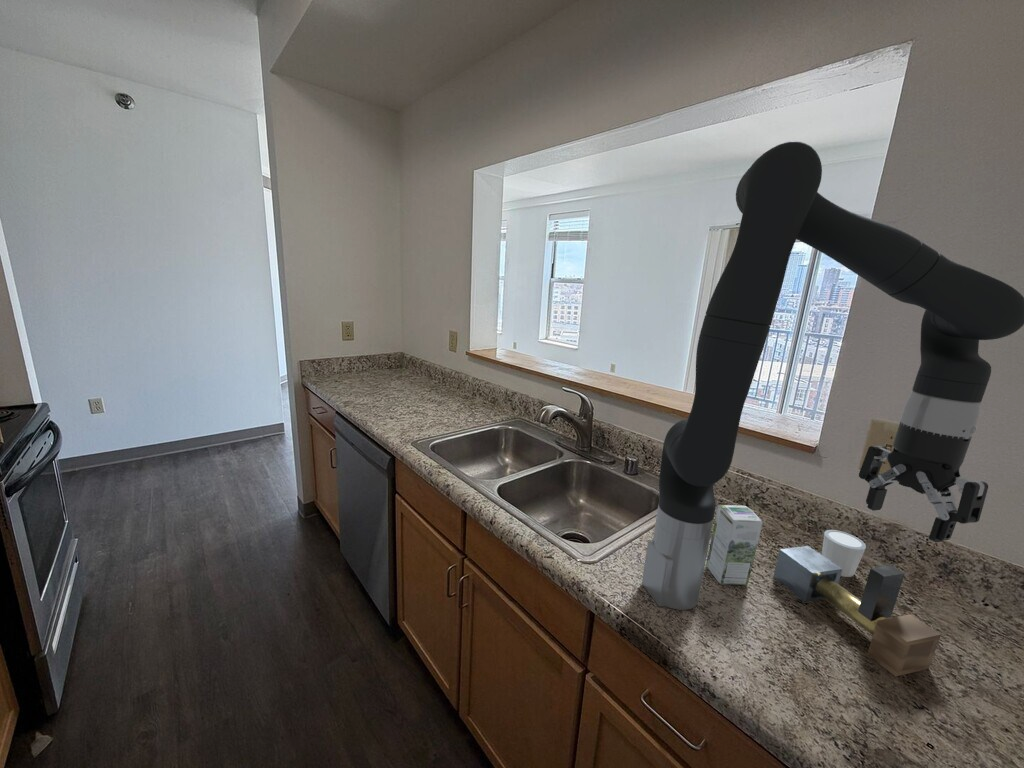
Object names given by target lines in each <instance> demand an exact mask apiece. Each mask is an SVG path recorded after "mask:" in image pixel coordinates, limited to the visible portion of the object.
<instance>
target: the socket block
mask: <svg viewBox="0 0 1024 768" xmlns="http://www.w3.org/2000/svg"><path fill="white" fill-rule="evenodd" d="M941 635H942V634H941V633H940V632H938V631H936V630H935V629H934V628H932V627H930V626H929V625H927V624H926V623H924V622H923V621H922V620H921V619H919V618H917V617H916V616H914V615H912V614H905V615H904V614H903V615H900V616H893V617H889V618H887V619H883V620H878V621H877V625H876V628H875V631H874V634H873V635H872V638H871V640H870V645H869V647H868V651H867V653H866V654H867V655H868V656H869V657H871V658H872V659H873V660H874V661H876V662H877V663H878V664H879V665H880V666H882V668H884V669H885V670H887V671H888V672H889V673H890V674H891V675H892V676H894V677H899V676H903V675H907V674H912V673H916V672H920V671H924V670H927V669H929V668H930V666H931V664H932V660H933V658H934V656H935V652H936V649H937V647H938V644H939V641H940V638H941Z"/></svg>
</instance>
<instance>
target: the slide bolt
mask: <svg viewBox="0 0 1024 768" xmlns="http://www.w3.org/2000/svg"><path fill="white" fill-rule="evenodd" d="M905 575H906V573H905V572H903V571H902V570H900V569H899V568H897V567H895V566H894V565H892V564H891V565H884V566H877V567H871V568H870V570H869V574H868V577H867V580H866V583H865V586H864V589H863V593H862V597H861V599H860V598H858V597H857V596H855V595H854V594H852V593H851V592H850V591H849V590H847V589H846V588H844V587H843V586H841V585H840V584H839V583H838V584H837V583H836V582H834V581H833V580H832V579H830V578H829V577H825V578H822V579H821V580H820V581H819V582H818V583H817V585H816V592H817V593H818V594H819V595H821V596H822V597H823V598H824V599H825V600H826V601H827V602H828V603H830V604H831V605H832V606H834V608H836V609H837V610H839V611H840V612H841V613H842V614H844V615H845V616H847V618H849V619H850V620H852V621H853V622H855V623H856V624H857V625H858V626H859V627H861V628H862V629H864V630H865V631H866V632H868V633H869V634H870V635H872V636H873V634H874V631H875V628H876V625H877V621H878V620H883V619H888V618H892V615H893V613H894V608H895V606H896V602H897V600H898V599H897V598H898V597H899V593H900V590H901V587H902V584H903V582H904V581H903V580H904V577H905Z"/></svg>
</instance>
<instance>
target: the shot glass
mask: <svg viewBox="0 0 1024 768" xmlns="http://www.w3.org/2000/svg"><path fill="white" fill-rule="evenodd" d="M866 548H867V545H866V543H865V542H864V541H863V540H862V539H860V538H858V537H856V536H855V535H852V534H851V533H848V532H845V531H842V530H835V529H827V530H825V531H824V534H823V542H822V549H821V555H823V556H824V557H826V558H827V559H829V560H830V561H832V562H833V563H835V564H836V565H838V566H839V567H841V568H842V572H841V576H840V577H845V578H850V577H851V578H852V577H853V576H855V573H856V571H857V568H858V566H859V564H860V562H861V559H862V557H863V555H864V553H865V551H866Z"/></svg>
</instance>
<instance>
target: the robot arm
mask: <svg viewBox="0 0 1024 768" xmlns="http://www.w3.org/2000/svg"><path fill="white" fill-rule="evenodd" d="M822 173H823V165H822V161H821V158H820V156H819V154H818V152H817V150H815V149H814V148H813V147H812V146H811V145H809V144H807V143H806V142H803V141H797V140H796V141H795V140H792V141H786V142H782V143H780V144H778V145H775V146H774V147H771V148H770V149H768V150H767V151H766V152H764V153H762V155H760V156H759V157H758V158H757V159H756V160H754V162H753V163H752V164H751V165H750V167H749V168H748V169H747V170H746V171H745V173H744V174H743V175H742V177H741V178H740V180H739V181H738V184H737V187H736V192H735V202H736V206H737V208H738V209H739V211H740V212H741V214H742V215H741V220H740V225H739V229H738V234H737V237H736V240H735V245H734V248H733V251H732V253H731V255H730V257H729V260H728V262H727V263H726V266H725V267H724V269H723V272H722V274H721V275H720V278H719V280H718V282H717V284H716V286H715V289H714V290H713V293H712V296H711V297H710V300H709V303H708V305H707V308H706V311H705V315H704V319H703V322H702V325H701V329H700V332H699V336H698V339H697V340H698V341H697V346H696V356H695V357H696V358H695V359H696V360H695V387H694V398H693V402H692V407H691V409H690V412H689V415H688V418H686V419H682V420H679V421H677V422H676V423H674V424H673V425H672V426H671V427H670V428H669V430H668V431H667V432H666V435H665V438H664V441H663V445H662V446H663V447H662V451H661V461H660V469H659V470H660V471H659V479H658V489H659V492H658V497H659V498H658V505H657V511H656V517H655V523H654V529H653V530H654V531H653V535H652V536H653V537H652V539H649V540H648V541H647V545H646V551H645V559H644V566H643V573H642V580H641V584H642V586H643V588H644V589H645V590H646V591H647V593H648V594H649V595H650V596H651V598H652V599H653V600H654V601H655V603H656V604H657V605H658V607H661V608H663V607H666V608H670V609H674V610H680V611H686V610H691V609H694V608H695V607H696V606H697V604H698V603H699V598H700V593H701V587H702V583H703V577H704V571H705V566H706V563H707V558H708V552H709V547H710V542H711V536H712V535H711V534H712V531H713V529H712V528H713V526H714V525H713V523H714V521H715V520H714V518H715V515H716V514H715V513H716V509H717V508H716V507H717V503H716V497H715V491H714V484H716V483H718V482H719V481H720V480H721V479H723V478H724V477H725V475H726V474H727V473H728V471H729V470H730V467H731V465H732V462H733V458H734V454H735V448H736V443H737V436H738V431H739V427H740V423H741V417H742V414H743V409H744V406H745V402H746V400H747V397H748V395H749V393H750V392H749V391H750V389H751V387H752V382H753V380H754V376H755V373H756V370H757V367H758V364H759V362H760V359H761V356H762V353H763V350H764V349H765V345H766V342H767V339H768V335H769V332H770V329H771V325H772V322H773V319H774V315H775V312H776V311H775V310H776V308H777V305H778V301H779V299H780V294H781V292H782V287H783V284H784V280H785V276H786V272H787V268H788V264H789V261H790V257H791V255H792V250H793V248H794V246H795V243H796V241H797V240H798V241H800V242H802V243H803V244H806V245H807V246H808V247H809V246H810V247H811V248H813V249H815V250H817V251H818V252H820V253H821V254H823V255H825V256H827V257H828V258H831V259H832V260H834V261H835V262H837V263H839V264H840V265H842V266H843V267H845V268H846V269H848V270H850V271H851V272H852V273H854V274H855V275H858V276H859V277H860V278H862V279H864V280H865V281H867V282H868V283H870V284H871V285H873V286H874V287H876V289H878V290H881V292H883V293H884V294H885V295H886V294H887V295H888V296H890V297H891V298H892V299H895V300H897V301H899V302H902V303H905V304H908V305H909V304H910V305H914V306H917V307H919V308H922V309H924V313H923V315H922V319H921V325H920V345H919V346H920V347H919V348H920V349H919V350H920V352H919V353H920V365H919V368H918V371H917V373H916V377H915V379H914V382H913V387H912V391H911V392H910V395H909V397H908V399H907V401H906V402H905V405H904V407H903V410H902V415H901V417H900V420H899V424H898V428H897V431H896V435H895V437H894V440H893V444H892V446H893V449H892V451H891V450H889V449H888V448H887V446H886V445H871V446H869V447H868V448H867V452H866V453H865V457H864V458H863V462H862V464H861V467H860V470H859V473H858V477H859V478H860V479H861V480H865V481H866V482H867V484H868V485H869V489H868V492H867V496H866V498H865V501H866V502H865V503H866V505H867V508H868V509H869V510H871V511H880V510H881V509H882V508H883V505H884V502H885V499H886V496H887V493H888V489H886V488H887V487H889V486H891V485H894V484H895V483H898V485H900V486H903V487H906V488H907V487H908V488H911V489H912V490H913V491H915V492H917V493H919V494H922V495H926V497H927V499H928V502H929V503H930V504H932V505H933V507H934V509H935V510H936V512H937V515H938V516H937V517H935V519H934V522H933V524H932V526H931V530H930V533H929V535H928V539H929V540H930V541H932V542H934V543H941V542H944V541H949V540H950V539H951V538H952V536H953V534H954V533H953V532H954V530H955V527H956V525H957V523H958V524H970V523H978V522H979V521H980V519H981V515H982V512H983V509H984V504H985V501H986V497H987V494H988V489H989V484H988V483H987V482H986V481H982V480H972V479H969V478H966V477H963V476H961V472H960V469H961V466H962V465H963V463H964V461H965V458H966V454H967V452H968V449H969V446H970V444H971V440H972V437H973V436H974V435H973V434H974V433H975V432H976V430H977V428H976V426H977V423H978V420H979V416H980V408H981V406H982V405H981V404H982V400H983V398H984V395H985V392H986V389H987V386H988V383H989V381H990V377H991V374H992V366H991V364H990V363H989V362H988V361H987V360H985V359H984V358H982V357H981V356H980V354H979V346H980V345H979V344H980V343H979V342H980V341H991V340H997V339H1002V338H1004V337H1008V336H1011V335H1013V334H1015V333H1016V332H1017V331H1019V330H1020V329H1021V328H1023V326H1024V295H1022V294H1021V293H1020V292H1019V291H1018V290H1017V289H1015V288H1014V287H1013V286H1011V285H1009V284H1008V283H1005V282H1004V281H1003V280H1000V279H998V278H995V277H992V276H991V275H989V274H985V273H984V272H981V271H978V270H976V269H974V268H971V267H968V266H965V265H962V264H960V263H957V262H956V261H955V262H954V261H953V260H950V259H949V258H947V257H946V256H945V255H943V254H942V253H941V252H939V251H937V250H936V249H934V248H932V247H931V246H929V245H927V244H926V243H924V242H922V241H921V240H919V239H917V238H916V237H914V236H913V235H911V234H909V233H907V232H905V231H903V230H901V229H898V228H896V227H894V226H891V225H889V224H886V223H883V222H880V221H879V220H875V219H872V218H869V217H866V216H863V215H860V214H857V213H855V212H853V211H850V210H847V209H846V208H843V207H841V206H840V205H838V204H836V203H834V202H832V201H831V200H828V198H826V197H825V196H823V195H822V194H820V193H819V192H818V191H819V188H820V186H821V181H822V177H823V176H822ZM885 461H887V462H888V464H889V467H890V468H891V469H889V470H886V471H885V472H883V473H880V471H881V468H882V465H883V462H885ZM879 473H880V474H879ZM956 485H957V486H958V492H959V493H960V494H961V496H960V499H959V503H958V505H957V503H956V501H957V498H956V496H955V494H954V492H953V490H952V487H953V486H956ZM939 493H940V494H939Z"/></svg>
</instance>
